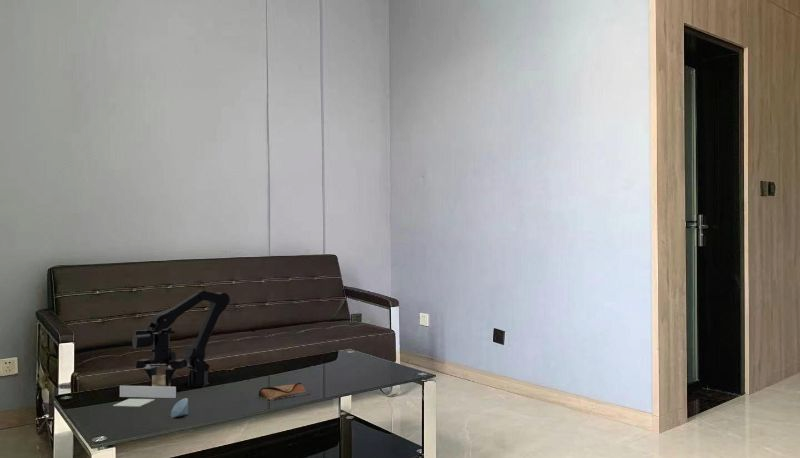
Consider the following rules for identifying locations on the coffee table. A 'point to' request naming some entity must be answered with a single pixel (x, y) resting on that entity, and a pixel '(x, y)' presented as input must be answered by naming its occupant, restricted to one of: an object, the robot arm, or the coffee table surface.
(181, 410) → the gemstone
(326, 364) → the coffee table surface
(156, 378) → the maple block
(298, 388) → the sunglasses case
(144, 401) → the pad
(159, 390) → the frosted wall
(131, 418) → the coffee table surface
